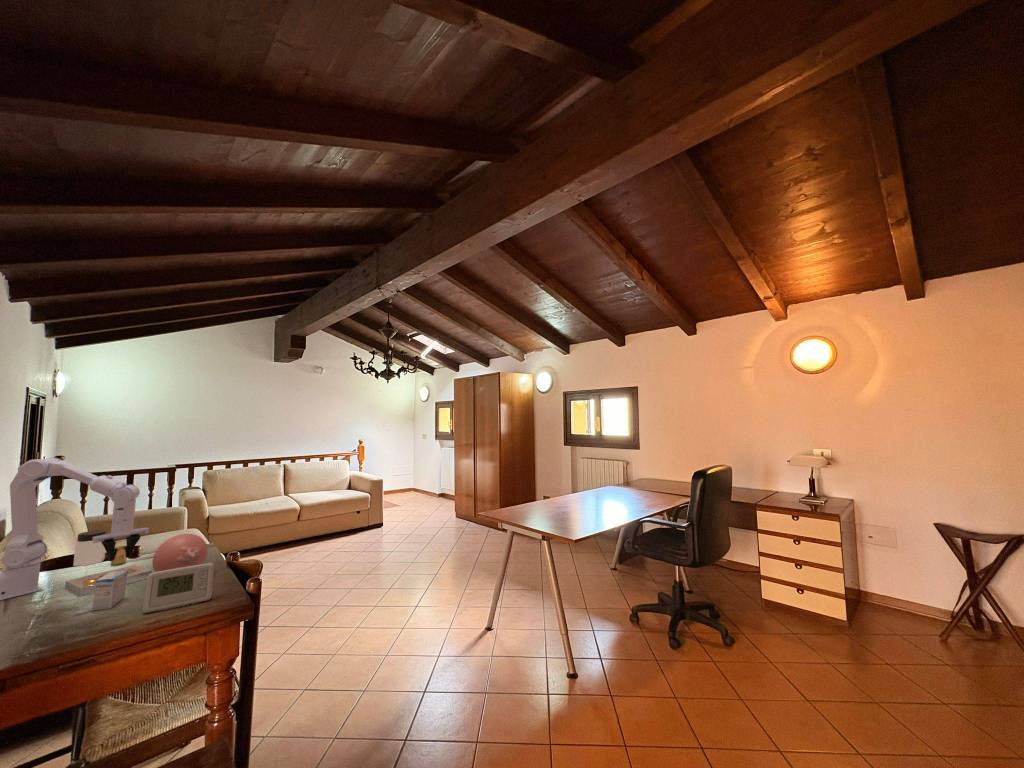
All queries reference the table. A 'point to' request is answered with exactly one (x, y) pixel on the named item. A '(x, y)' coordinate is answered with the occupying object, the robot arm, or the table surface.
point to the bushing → (119, 556)
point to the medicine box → (109, 590)
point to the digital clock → (178, 587)
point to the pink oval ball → (180, 552)
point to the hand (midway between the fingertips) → (119, 558)
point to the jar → (89, 549)
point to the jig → (88, 582)
